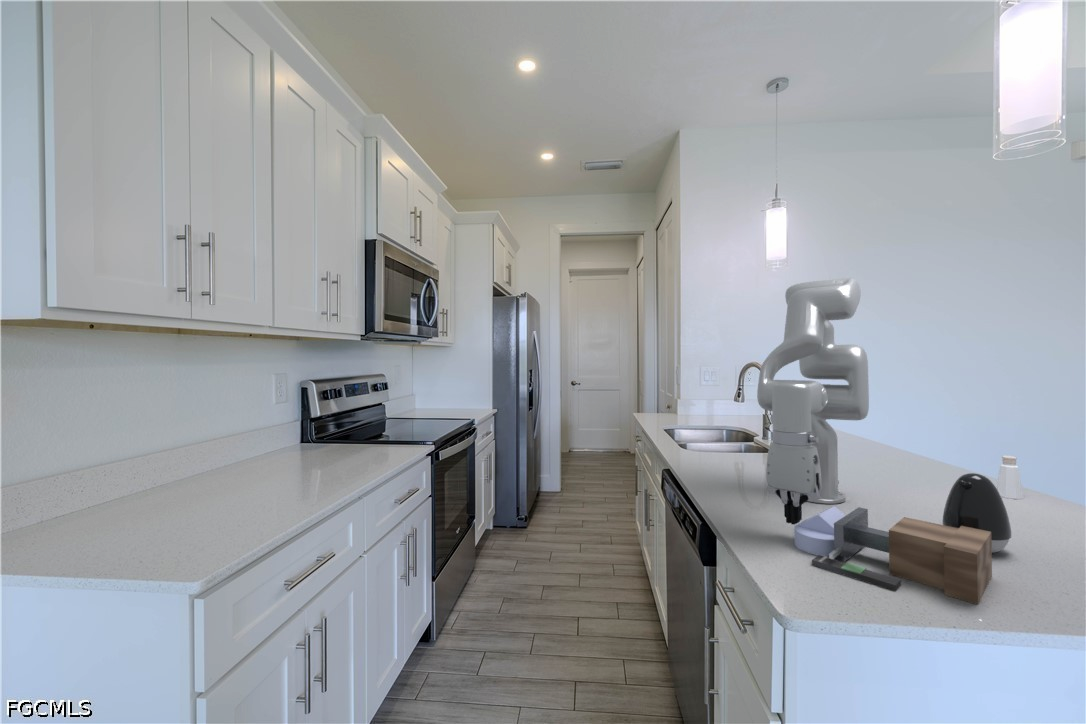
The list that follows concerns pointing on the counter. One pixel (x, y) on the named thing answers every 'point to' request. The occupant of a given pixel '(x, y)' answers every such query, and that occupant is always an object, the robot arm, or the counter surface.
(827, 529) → the wedge on round base
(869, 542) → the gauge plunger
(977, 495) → the black egg-shaped piece
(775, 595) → the counter surface
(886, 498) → the counter surface
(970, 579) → the frame
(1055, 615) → the counter surface
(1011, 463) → the salt shaker
